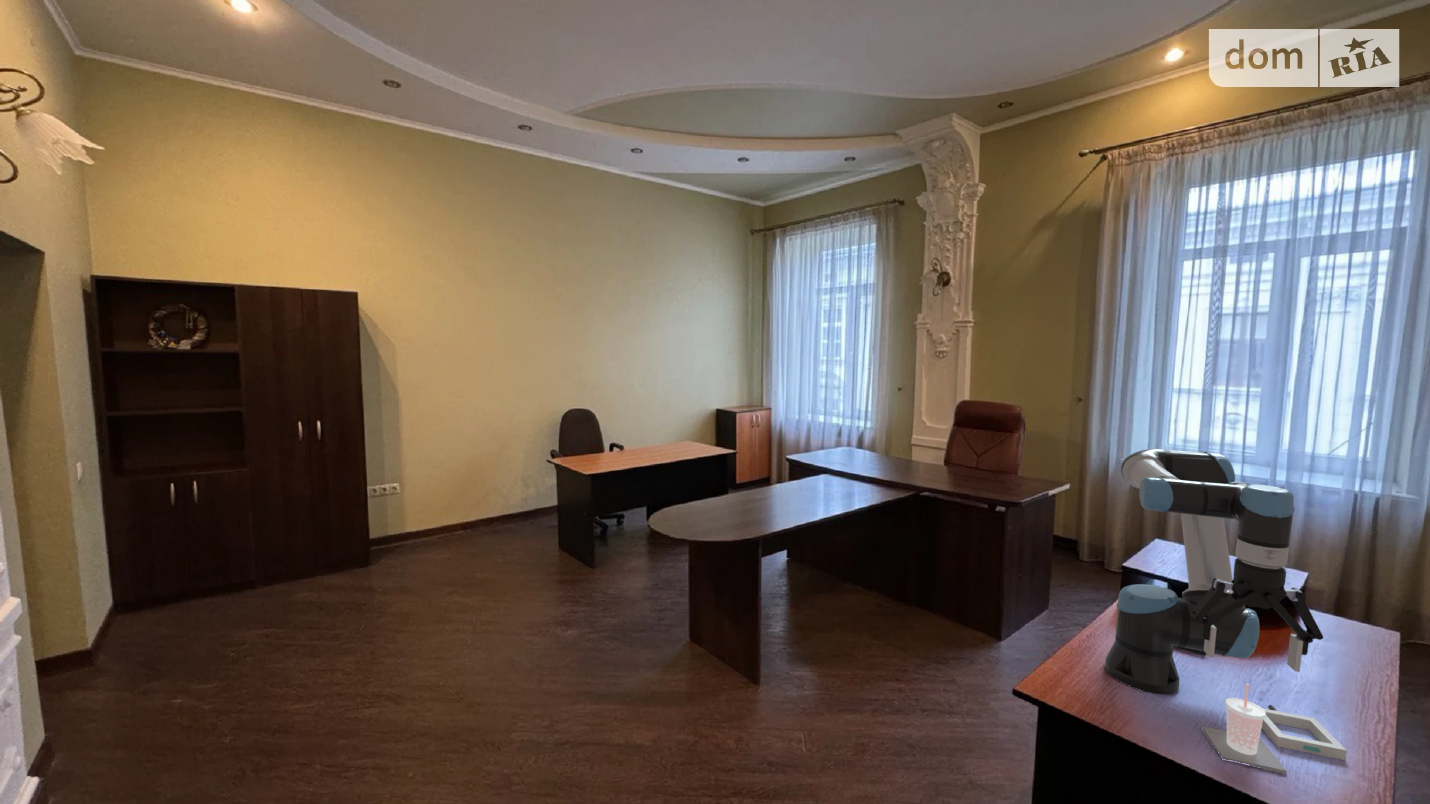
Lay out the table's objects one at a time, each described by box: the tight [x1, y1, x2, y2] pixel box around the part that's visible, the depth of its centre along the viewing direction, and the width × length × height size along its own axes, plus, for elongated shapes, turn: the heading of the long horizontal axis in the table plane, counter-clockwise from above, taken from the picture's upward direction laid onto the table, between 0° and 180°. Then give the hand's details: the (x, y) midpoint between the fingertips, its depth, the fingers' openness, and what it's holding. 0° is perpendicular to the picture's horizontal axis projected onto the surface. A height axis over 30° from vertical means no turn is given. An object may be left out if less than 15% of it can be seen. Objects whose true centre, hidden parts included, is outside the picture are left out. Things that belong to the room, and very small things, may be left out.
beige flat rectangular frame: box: [1261, 704, 1348, 761], centre depth 123 cm, size 11×16×2 cm
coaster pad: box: [1201, 725, 1288, 776], centre depth 117 cm, size 10×10×1 cm
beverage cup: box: [1224, 683, 1266, 755], centre depth 116 cm, size 6×6×14 cm
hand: (1250, 661), depth 115 cm, fingers open, 13 cm apart
